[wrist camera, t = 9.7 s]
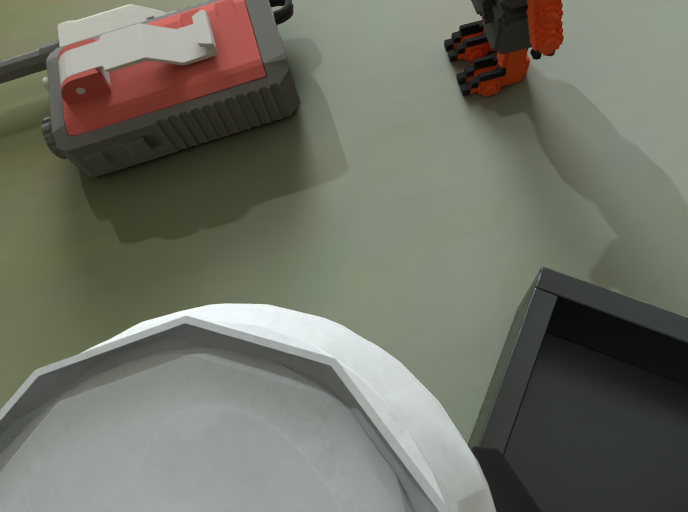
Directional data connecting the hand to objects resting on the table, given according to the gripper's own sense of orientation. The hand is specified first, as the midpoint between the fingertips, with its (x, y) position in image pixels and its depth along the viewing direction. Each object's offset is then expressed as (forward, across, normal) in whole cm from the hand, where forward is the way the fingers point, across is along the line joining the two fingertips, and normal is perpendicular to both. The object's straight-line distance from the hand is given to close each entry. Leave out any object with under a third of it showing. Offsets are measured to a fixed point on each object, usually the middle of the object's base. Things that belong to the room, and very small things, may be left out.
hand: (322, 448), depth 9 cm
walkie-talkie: (+21, +15, -2) cm, 26 cm away
